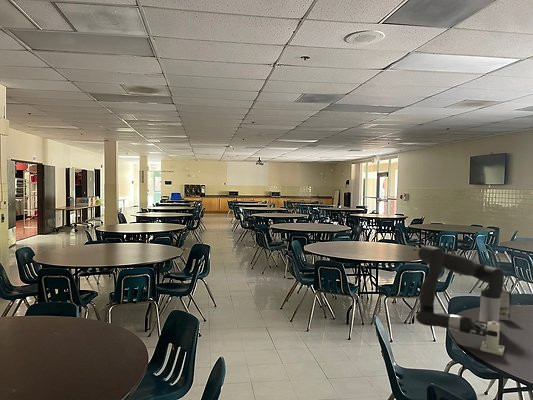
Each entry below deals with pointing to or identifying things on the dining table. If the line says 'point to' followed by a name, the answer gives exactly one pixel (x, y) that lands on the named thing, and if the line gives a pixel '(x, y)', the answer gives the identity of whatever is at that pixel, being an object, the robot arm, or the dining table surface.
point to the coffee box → (505, 305)
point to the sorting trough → (499, 352)
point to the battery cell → (491, 340)
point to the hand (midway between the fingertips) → (498, 331)
